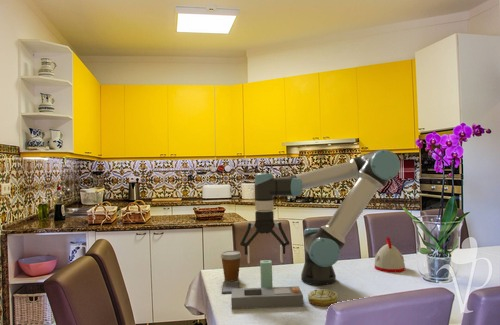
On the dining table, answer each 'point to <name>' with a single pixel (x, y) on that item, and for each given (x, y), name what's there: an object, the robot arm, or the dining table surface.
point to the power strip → (266, 297)
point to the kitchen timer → (389, 259)
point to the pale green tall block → (266, 273)
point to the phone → (229, 287)
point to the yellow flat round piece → (322, 297)
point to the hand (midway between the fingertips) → (265, 262)
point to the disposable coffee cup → (231, 264)
